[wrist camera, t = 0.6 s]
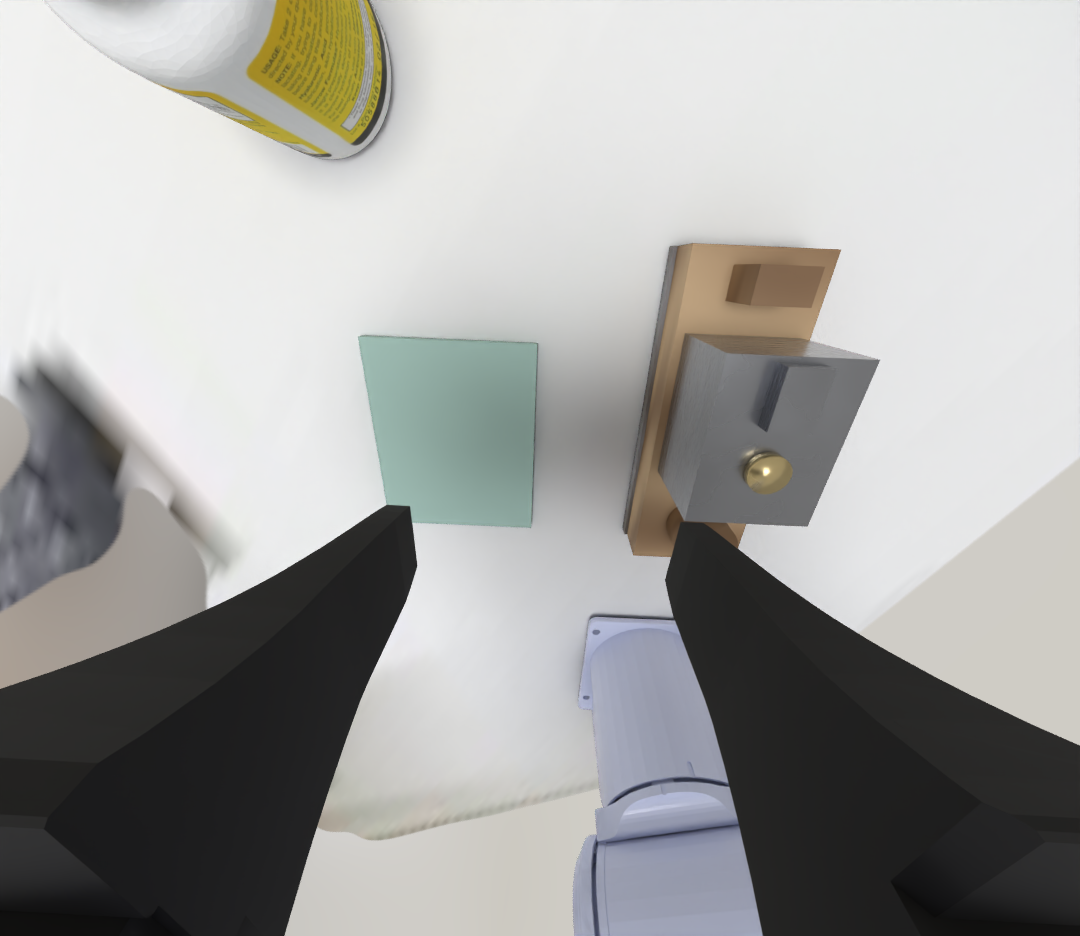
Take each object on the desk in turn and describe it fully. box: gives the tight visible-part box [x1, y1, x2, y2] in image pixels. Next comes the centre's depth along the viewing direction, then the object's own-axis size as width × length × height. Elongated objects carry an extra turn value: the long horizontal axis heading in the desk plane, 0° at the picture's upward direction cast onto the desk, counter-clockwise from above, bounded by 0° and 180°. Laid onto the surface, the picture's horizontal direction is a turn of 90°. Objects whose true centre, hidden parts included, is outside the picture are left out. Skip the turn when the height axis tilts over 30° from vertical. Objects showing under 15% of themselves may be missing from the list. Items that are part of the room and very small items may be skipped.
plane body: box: [623, 243, 841, 557], centre depth 17 cm, size 14×6×4 cm, turn 178°
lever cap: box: [657, 333, 880, 526], centre depth 14 cm, size 6×4×5 cm
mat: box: [358, 335, 537, 528], centre depth 20 cm, size 10×8×1 cm
